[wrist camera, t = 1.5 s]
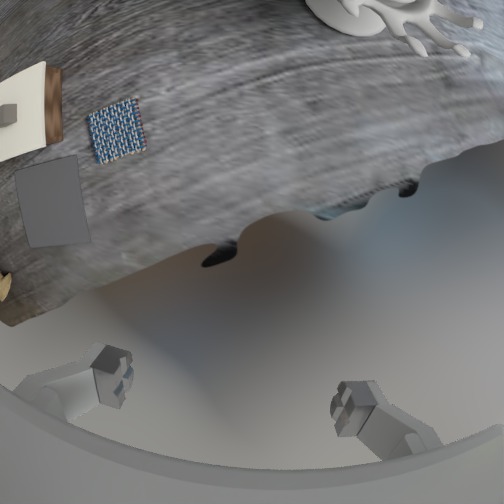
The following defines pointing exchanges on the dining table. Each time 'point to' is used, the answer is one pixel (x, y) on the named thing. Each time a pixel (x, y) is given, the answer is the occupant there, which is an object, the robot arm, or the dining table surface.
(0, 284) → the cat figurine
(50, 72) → the walnut box
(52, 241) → the rubber mat
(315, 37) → the dining table surface
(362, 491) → the robot arm
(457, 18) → the candelabra
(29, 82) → the lid
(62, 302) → the dining table surface
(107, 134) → the woven mat
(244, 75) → the dining table surface
